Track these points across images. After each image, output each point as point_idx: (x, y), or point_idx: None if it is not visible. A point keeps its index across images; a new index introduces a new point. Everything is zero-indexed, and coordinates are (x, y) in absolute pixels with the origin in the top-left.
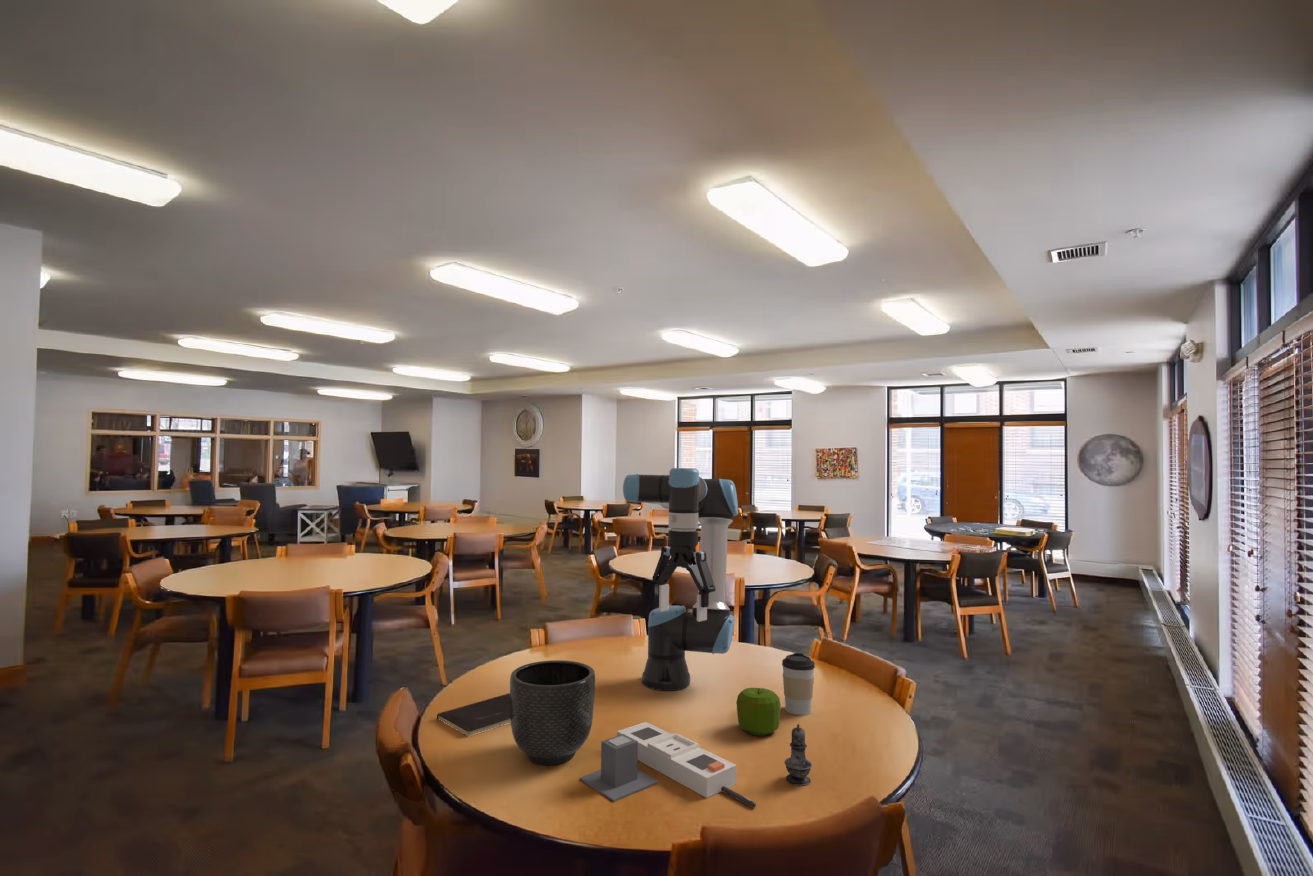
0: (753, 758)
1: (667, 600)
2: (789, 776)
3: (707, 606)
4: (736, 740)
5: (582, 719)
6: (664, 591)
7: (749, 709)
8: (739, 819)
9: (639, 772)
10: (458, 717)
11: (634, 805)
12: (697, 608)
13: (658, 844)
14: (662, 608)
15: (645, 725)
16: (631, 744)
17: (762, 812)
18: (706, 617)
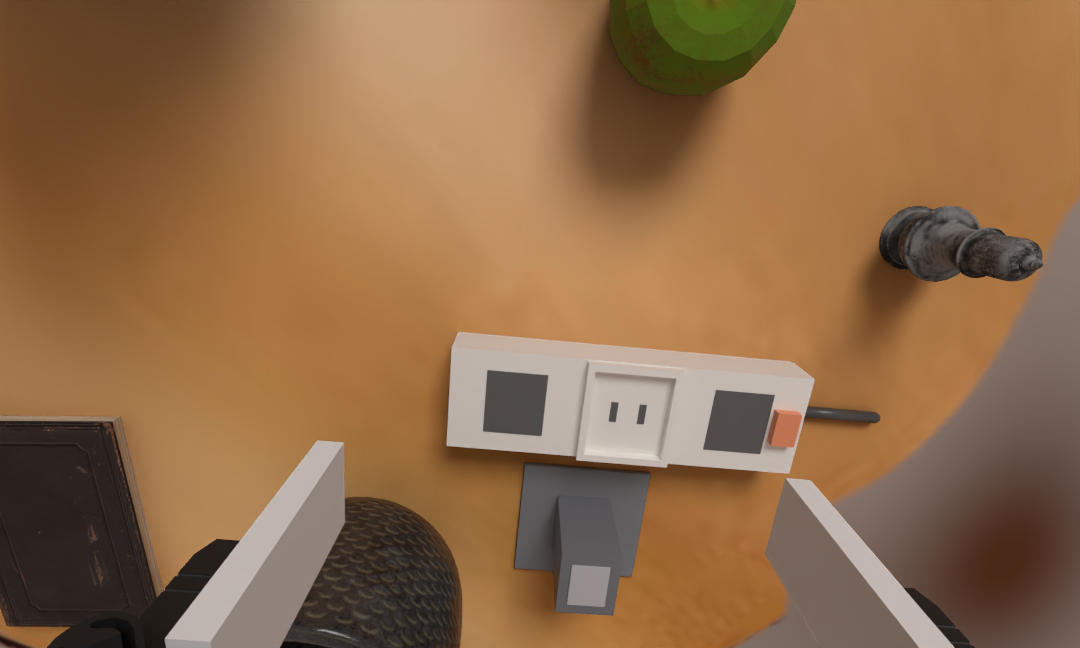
0: (761, 216)
1: (307, 513)
2: (894, 249)
3: (917, 602)
4: (661, 150)
5: (458, 621)
6: (260, 633)
7: (710, 90)
8: (864, 464)
9: (591, 475)
10: (63, 607)
11: (669, 556)
12: (821, 637)
13: (781, 605)
14: (335, 522)
15: (471, 366)
16: (619, 573)
17: (893, 415)
18: (820, 497)
